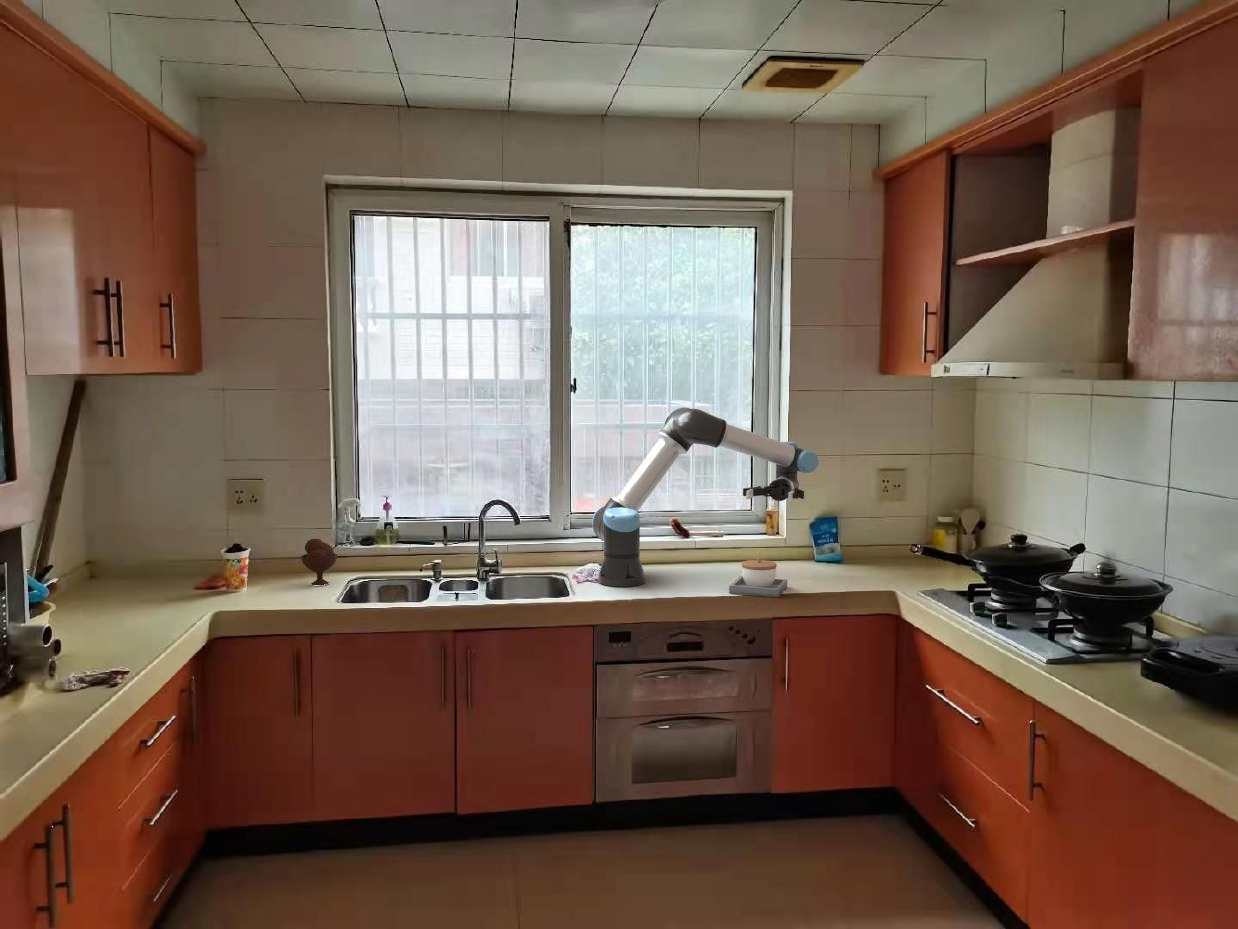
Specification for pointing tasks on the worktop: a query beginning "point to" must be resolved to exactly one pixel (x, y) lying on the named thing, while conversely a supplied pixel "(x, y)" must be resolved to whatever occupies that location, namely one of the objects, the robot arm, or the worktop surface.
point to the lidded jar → (759, 573)
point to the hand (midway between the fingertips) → (768, 496)
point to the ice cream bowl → (318, 558)
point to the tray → (758, 588)
